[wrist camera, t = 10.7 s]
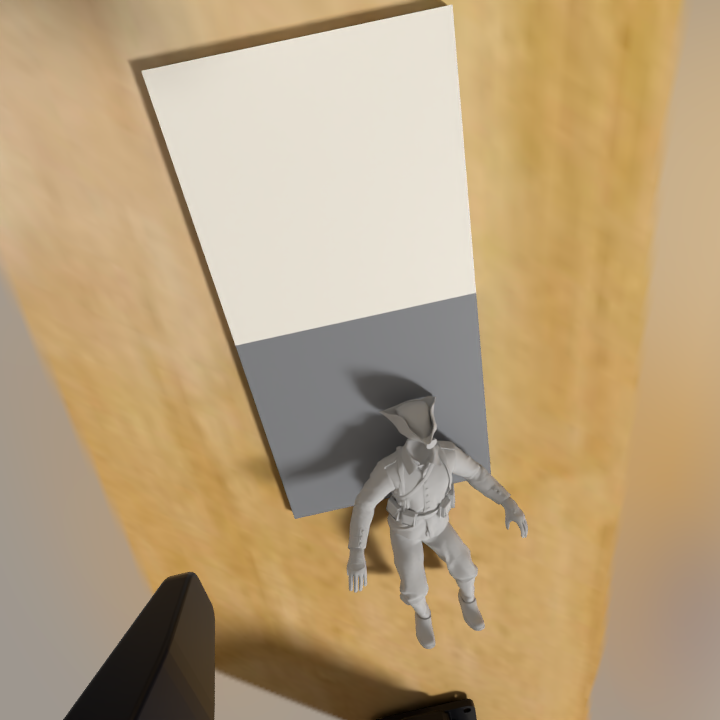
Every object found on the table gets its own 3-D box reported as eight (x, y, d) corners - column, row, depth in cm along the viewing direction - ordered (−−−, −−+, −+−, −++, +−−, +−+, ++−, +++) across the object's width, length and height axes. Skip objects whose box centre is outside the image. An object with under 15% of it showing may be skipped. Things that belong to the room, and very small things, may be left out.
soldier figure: (364, 675, 24) (343, 518, 17) (334, 579, 28) (307, 414, 20) (518, 618, 26) (563, 451, 18) (472, 534, 30) (493, 365, 22)
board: (488, 469, 25) (490, 475, 24) (294, 512, 25) (294, 518, 24) (448, 5, 16) (452, 4, 15) (144, 70, 16) (141, 71, 15)
